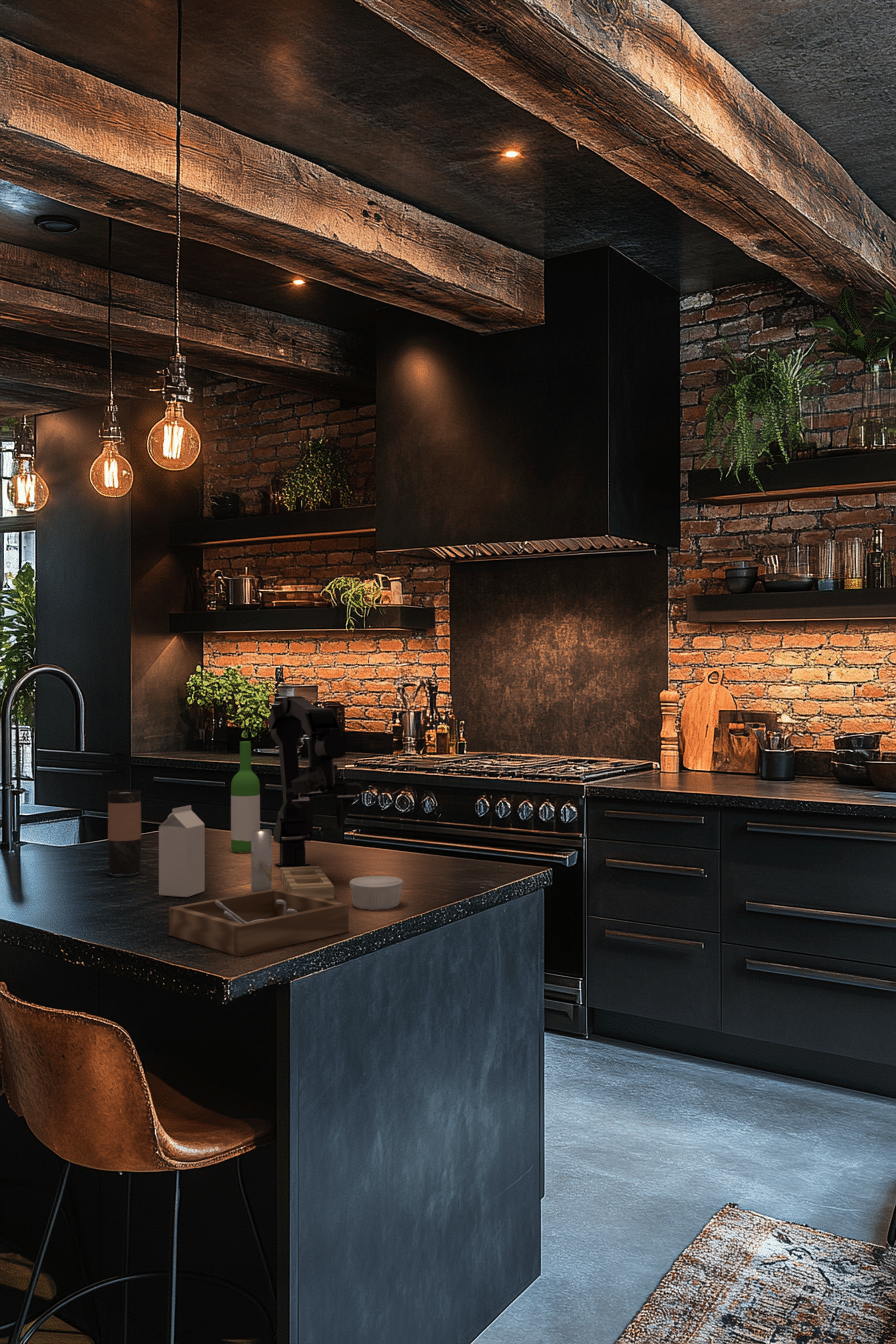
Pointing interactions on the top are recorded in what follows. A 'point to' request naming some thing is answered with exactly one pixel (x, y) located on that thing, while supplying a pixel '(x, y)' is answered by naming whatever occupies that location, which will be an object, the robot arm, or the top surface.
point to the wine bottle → (244, 802)
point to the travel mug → (124, 831)
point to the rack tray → (231, 937)
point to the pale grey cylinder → (261, 860)
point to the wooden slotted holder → (307, 881)
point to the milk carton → (181, 854)
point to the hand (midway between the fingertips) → (324, 829)
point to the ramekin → (376, 892)
